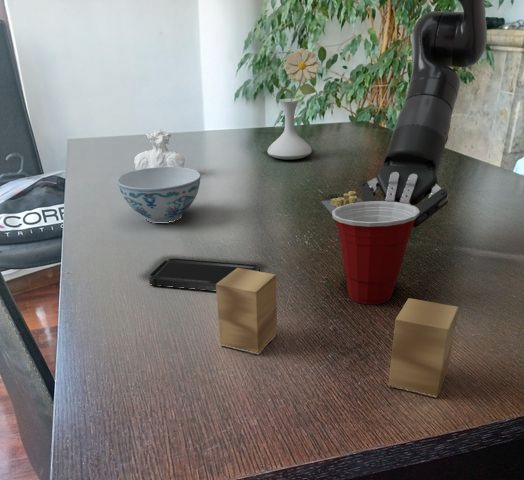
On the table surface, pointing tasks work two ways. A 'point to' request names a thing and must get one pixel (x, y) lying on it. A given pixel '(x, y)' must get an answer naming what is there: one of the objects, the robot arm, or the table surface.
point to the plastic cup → (373, 246)
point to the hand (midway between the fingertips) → (385, 249)
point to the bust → (158, 153)
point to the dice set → (341, 201)
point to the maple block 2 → (422, 345)
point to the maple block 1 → (247, 309)
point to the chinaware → (160, 191)
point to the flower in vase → (301, 70)
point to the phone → (194, 273)
